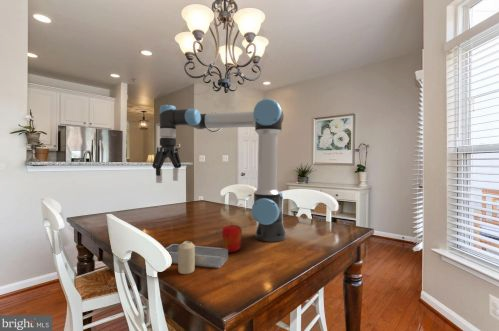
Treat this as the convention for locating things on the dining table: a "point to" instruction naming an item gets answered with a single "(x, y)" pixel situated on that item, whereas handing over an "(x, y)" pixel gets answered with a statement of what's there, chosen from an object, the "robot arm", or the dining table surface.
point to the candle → (186, 257)
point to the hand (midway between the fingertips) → (167, 181)
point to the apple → (232, 237)
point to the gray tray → (202, 255)
